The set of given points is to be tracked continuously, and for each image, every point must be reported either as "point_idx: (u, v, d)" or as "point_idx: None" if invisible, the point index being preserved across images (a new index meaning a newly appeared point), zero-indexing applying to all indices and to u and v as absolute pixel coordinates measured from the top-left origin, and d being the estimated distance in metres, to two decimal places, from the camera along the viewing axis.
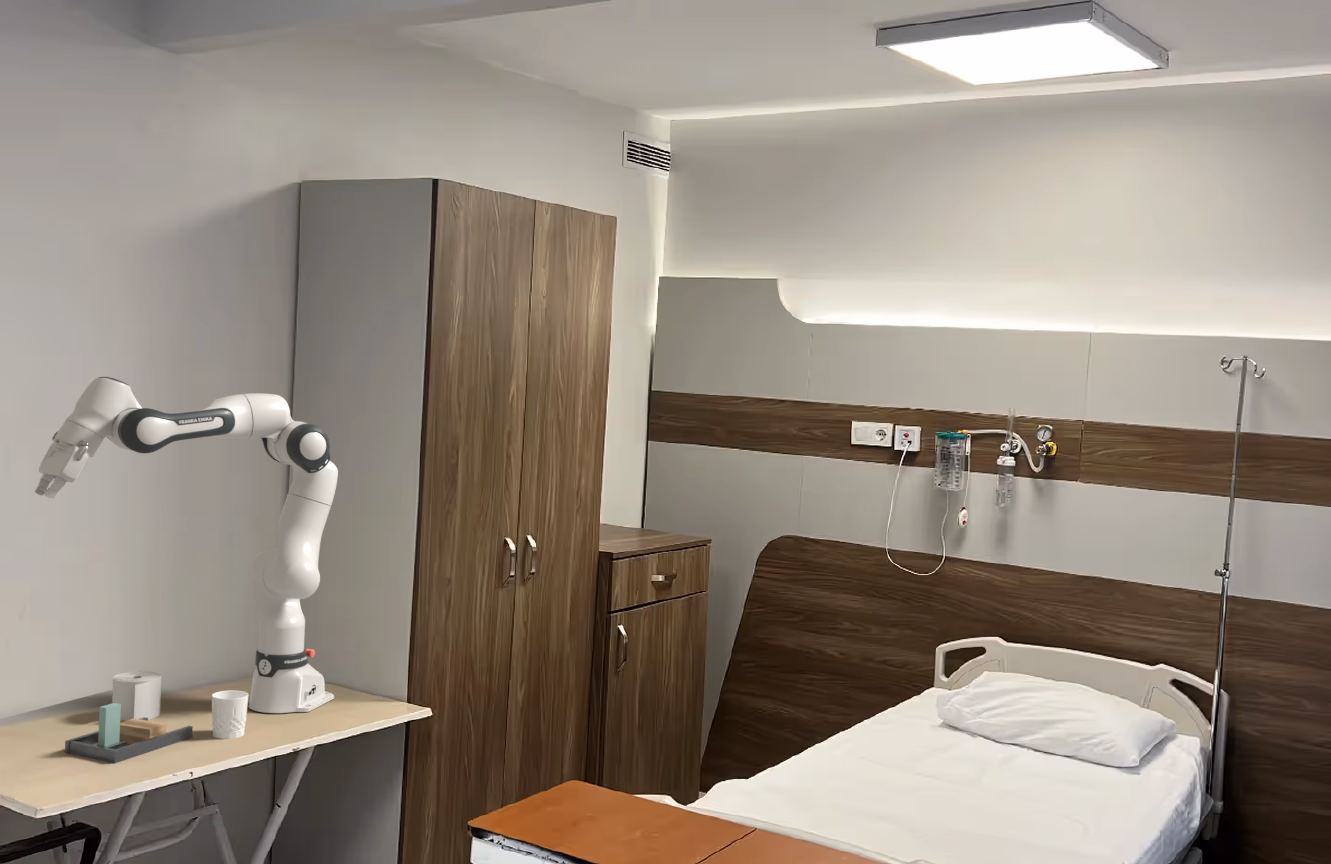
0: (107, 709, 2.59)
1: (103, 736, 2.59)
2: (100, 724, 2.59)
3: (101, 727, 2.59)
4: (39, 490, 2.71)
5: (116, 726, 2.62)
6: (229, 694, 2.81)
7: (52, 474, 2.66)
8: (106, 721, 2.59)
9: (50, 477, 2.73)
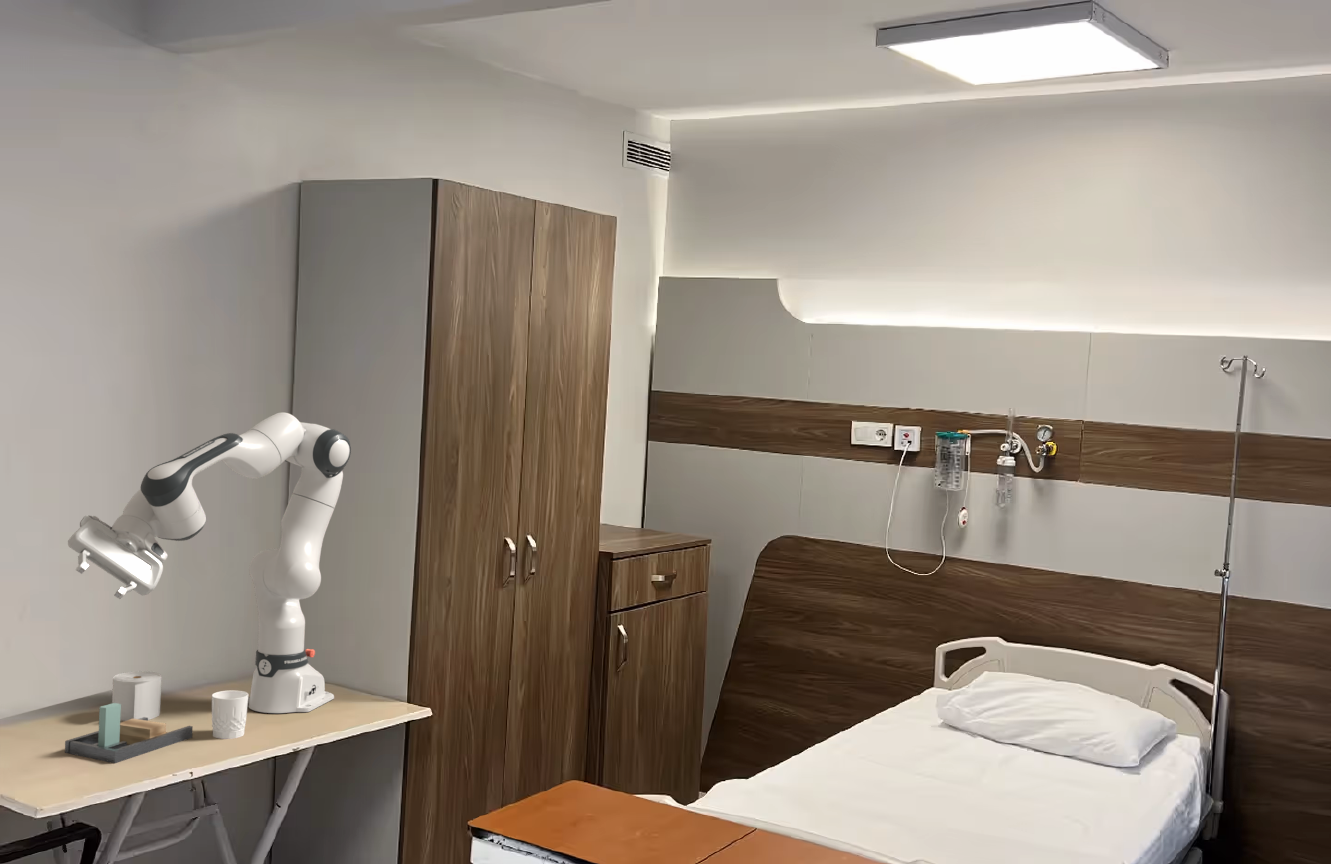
0: (107, 709, 2.59)
1: (103, 736, 2.59)
2: (100, 724, 2.59)
3: (101, 727, 2.59)
4: (116, 592, 2.61)
5: (116, 726, 2.62)
6: (229, 694, 2.81)
7: (91, 561, 2.61)
8: (106, 721, 2.59)
9: (130, 582, 2.64)
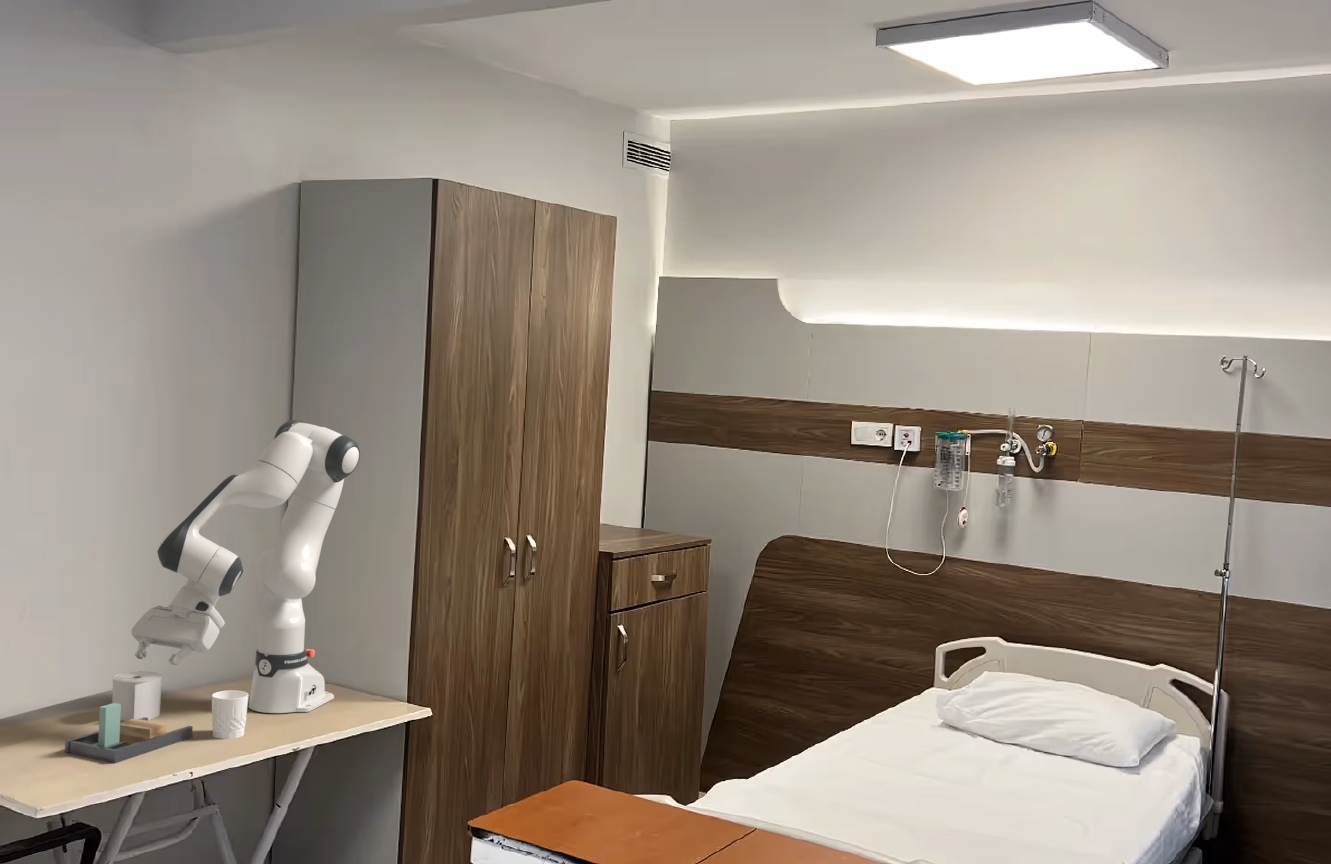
0: (107, 709, 2.59)
1: (103, 736, 2.59)
2: (100, 724, 2.59)
3: (101, 727, 2.59)
4: None
5: (116, 726, 2.62)
6: (229, 694, 2.81)
7: (158, 644, 2.76)
8: (106, 721, 2.59)
9: None
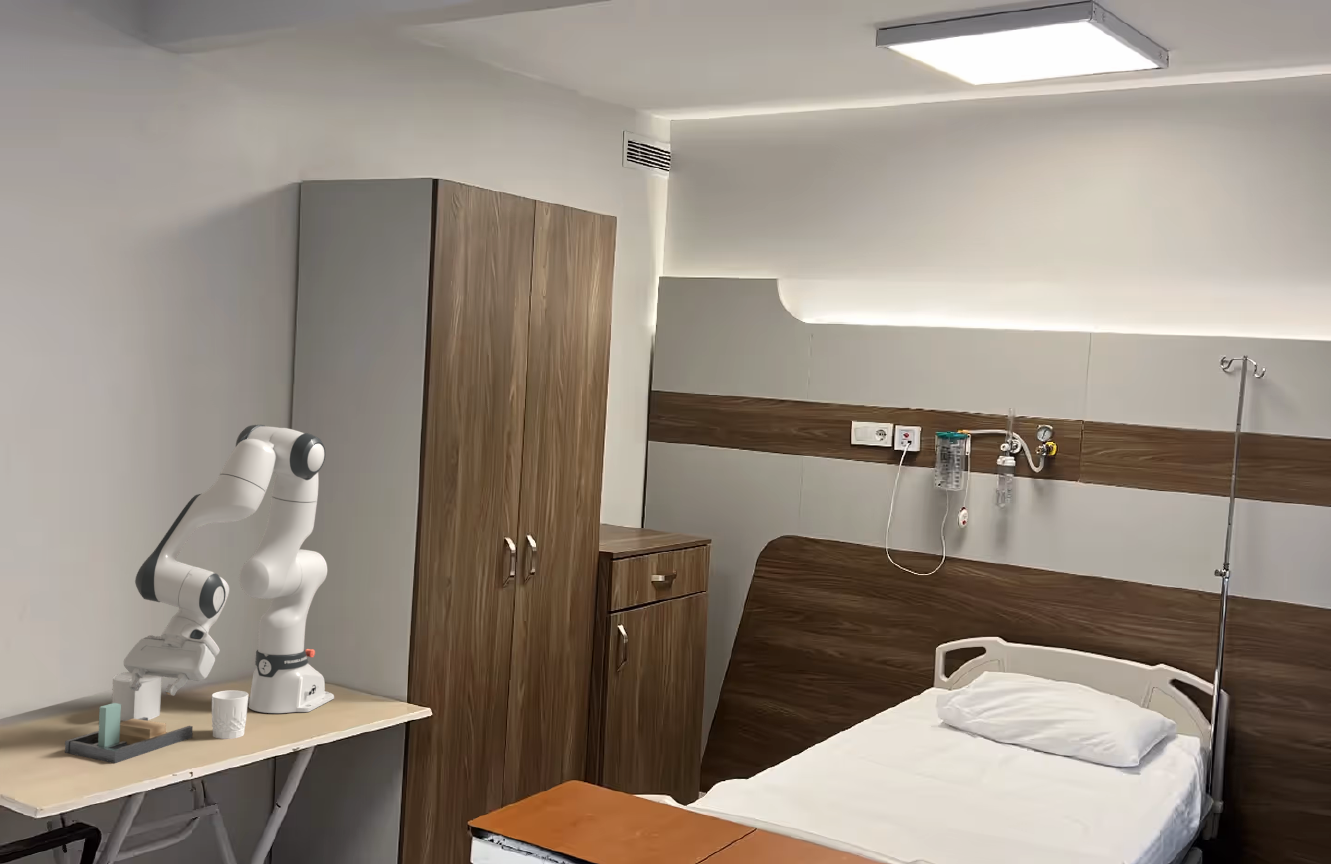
0: (107, 709, 2.59)
1: (103, 736, 2.59)
2: (100, 724, 2.59)
3: (101, 727, 2.59)
4: None
5: (116, 726, 2.62)
6: (229, 694, 2.81)
7: (151, 675, 2.71)
8: (106, 721, 2.59)
9: None
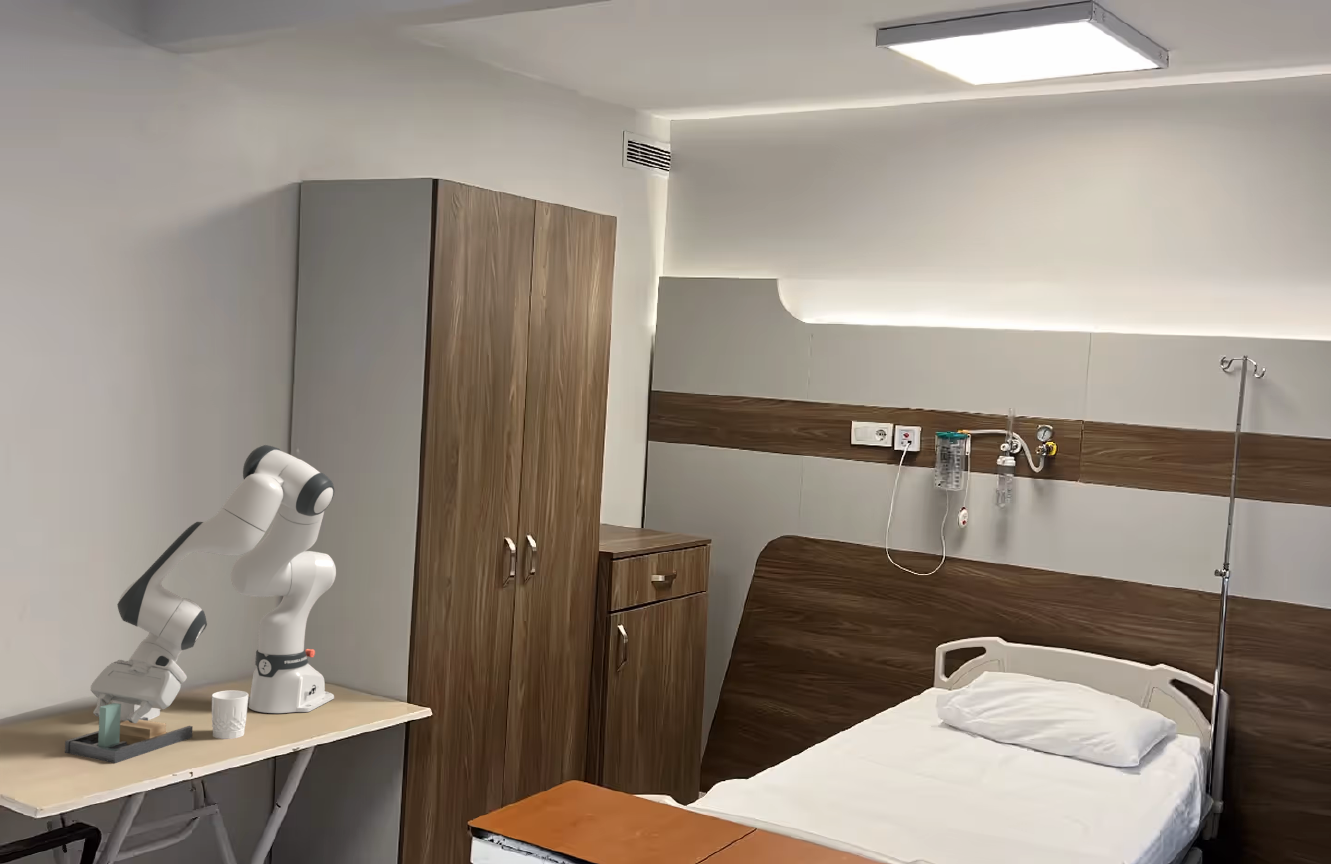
0: (107, 709, 2.59)
1: (103, 736, 2.59)
2: (100, 724, 2.59)
3: (101, 727, 2.59)
4: None
5: (116, 726, 2.62)
6: (229, 694, 2.81)
7: None
8: (106, 721, 2.59)
9: None
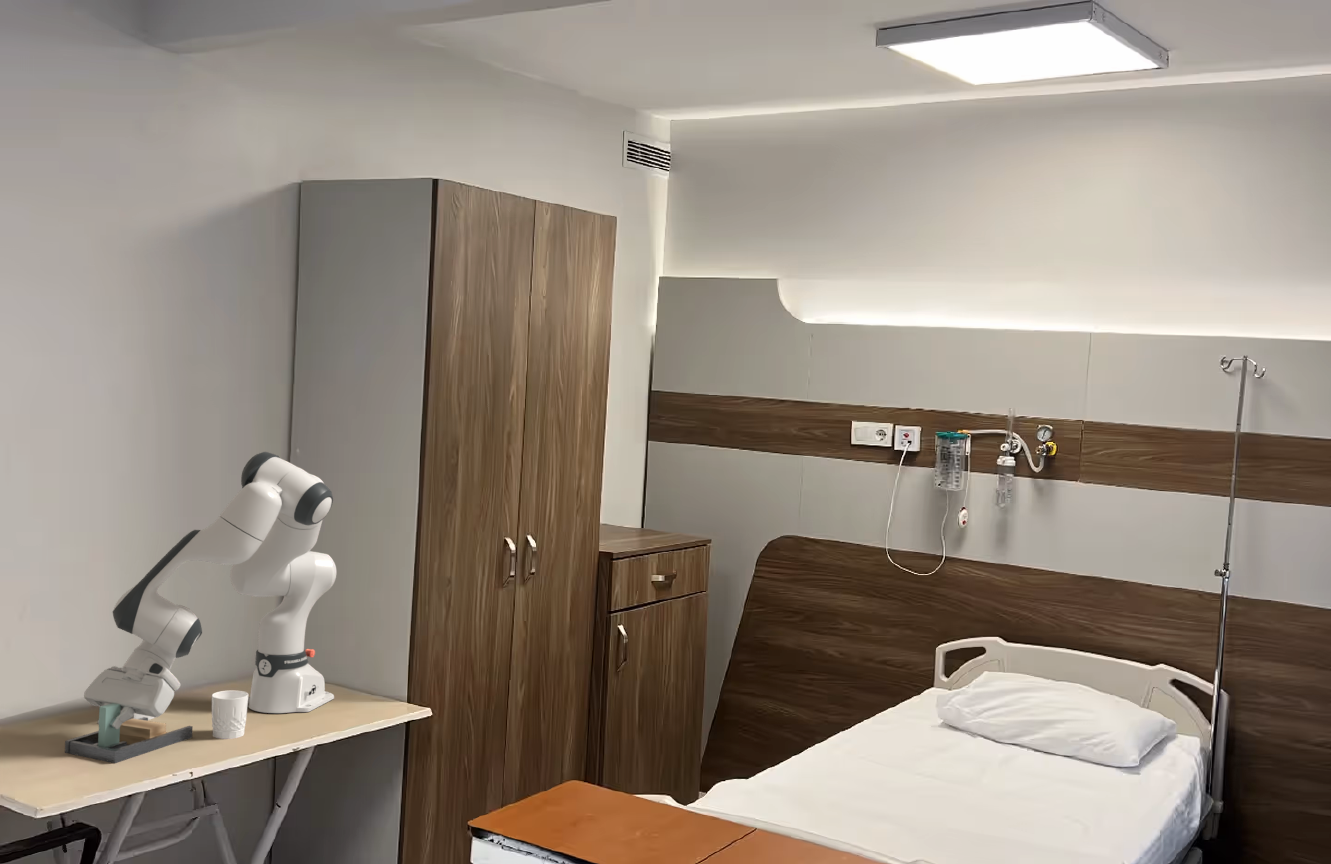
0: (107, 709, 2.59)
1: (103, 736, 2.59)
2: (100, 724, 2.59)
3: (101, 727, 2.59)
4: None
5: None
6: (229, 694, 2.81)
7: None
8: (106, 721, 2.59)
9: None
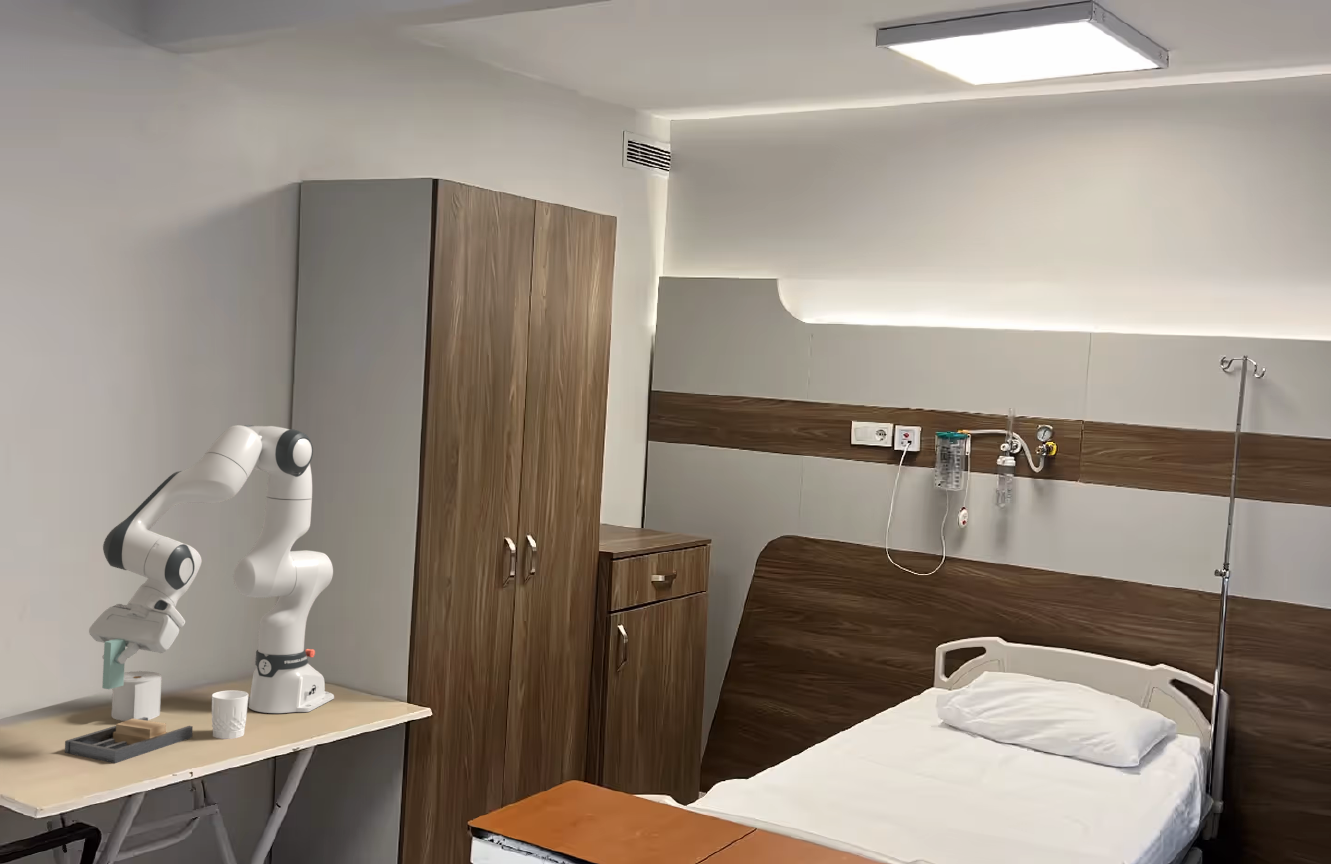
0: (112, 644, 2.59)
1: (108, 671, 2.60)
2: (105, 659, 2.60)
3: (106, 662, 2.60)
4: None
5: None
6: (229, 694, 2.81)
7: None
8: (111, 656, 2.59)
9: None
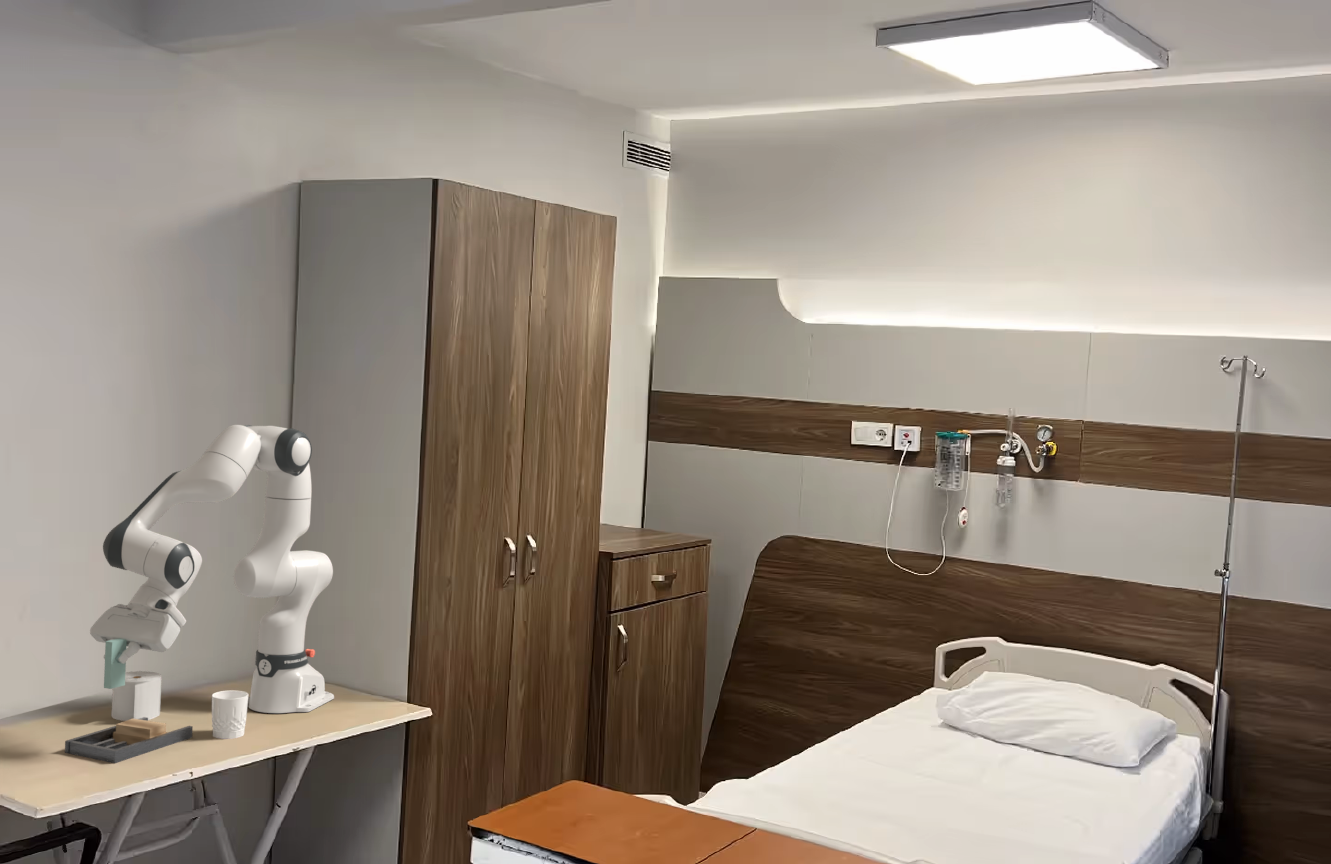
0: (113, 643, 2.59)
1: (109, 670, 2.59)
2: (106, 658, 2.60)
3: (107, 662, 2.60)
4: None
5: None
6: (229, 694, 2.81)
7: None
8: (112, 656, 2.59)
9: None
